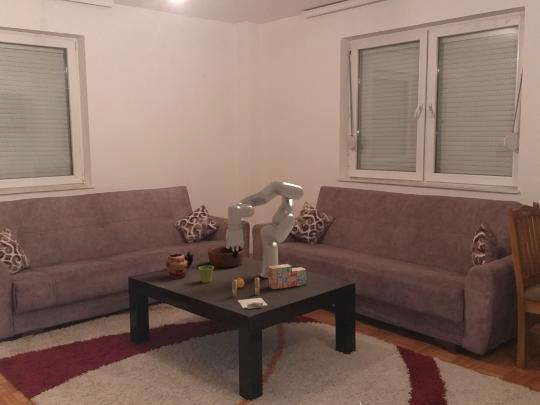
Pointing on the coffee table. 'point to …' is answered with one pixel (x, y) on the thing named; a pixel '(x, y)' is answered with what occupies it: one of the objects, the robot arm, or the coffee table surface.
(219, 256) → the wooden bowl
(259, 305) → the stopper wall
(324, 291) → the coffee table surface
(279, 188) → the robot arm
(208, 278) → the plant pot
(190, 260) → the controller
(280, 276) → the stack of blocks
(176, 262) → the decorative planter
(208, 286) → the coffee table surface
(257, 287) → the post
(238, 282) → the ball
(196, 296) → the coffee table surface
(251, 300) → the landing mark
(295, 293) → the coffee table surface
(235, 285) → the post
